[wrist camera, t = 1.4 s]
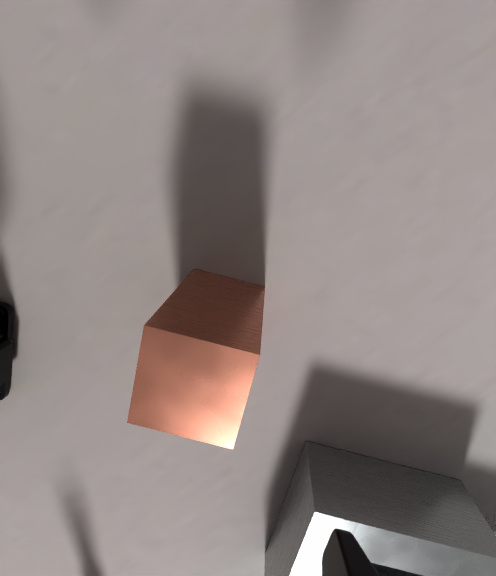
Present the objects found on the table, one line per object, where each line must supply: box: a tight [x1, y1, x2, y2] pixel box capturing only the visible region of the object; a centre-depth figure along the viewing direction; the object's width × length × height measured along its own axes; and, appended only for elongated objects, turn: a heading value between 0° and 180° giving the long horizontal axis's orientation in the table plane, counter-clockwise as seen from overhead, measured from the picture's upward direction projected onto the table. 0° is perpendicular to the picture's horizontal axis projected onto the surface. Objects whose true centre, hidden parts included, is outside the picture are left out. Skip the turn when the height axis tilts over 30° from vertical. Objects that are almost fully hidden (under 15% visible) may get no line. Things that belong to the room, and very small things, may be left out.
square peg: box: [127, 269, 265, 449], centre depth 16 cm, size 4×4×8 cm
